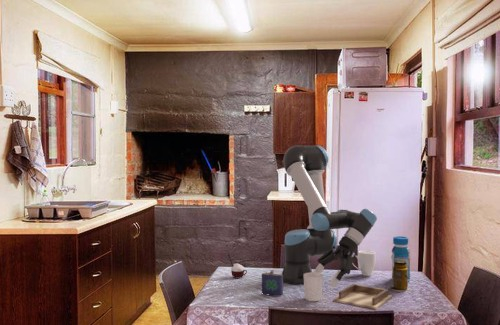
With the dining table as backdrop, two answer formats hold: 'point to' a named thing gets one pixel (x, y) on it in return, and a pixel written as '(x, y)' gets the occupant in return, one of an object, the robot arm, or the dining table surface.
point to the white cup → (313, 286)
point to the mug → (366, 262)
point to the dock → (363, 296)
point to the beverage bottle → (401, 252)
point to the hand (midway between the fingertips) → (322, 281)
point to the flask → (272, 283)
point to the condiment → (400, 276)
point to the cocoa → (237, 269)
